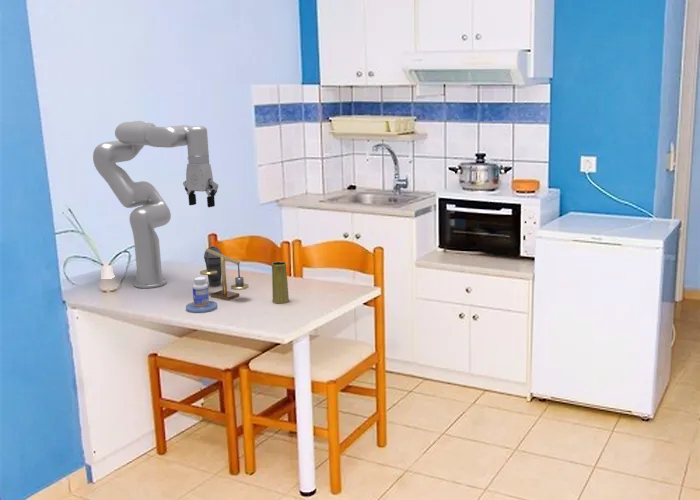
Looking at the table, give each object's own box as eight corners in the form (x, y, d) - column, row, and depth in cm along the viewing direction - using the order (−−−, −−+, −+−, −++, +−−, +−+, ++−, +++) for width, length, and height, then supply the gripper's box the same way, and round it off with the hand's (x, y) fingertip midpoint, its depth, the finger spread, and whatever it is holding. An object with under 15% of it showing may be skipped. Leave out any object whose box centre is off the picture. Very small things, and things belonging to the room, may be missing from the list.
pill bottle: (194, 302, 275) (193, 276, 273) (210, 302, 276) (208, 275, 273) (192, 307, 270) (190, 280, 268) (208, 306, 270) (206, 279, 268)
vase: (276, 304, 275) (274, 266, 272) (269, 300, 280) (267, 262, 277) (291, 302, 278) (290, 263, 275) (285, 298, 283) (283, 260, 280)
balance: (197, 294, 290) (194, 249, 286) (210, 290, 295) (207, 246, 292) (241, 303, 278) (238, 256, 274) (252, 298, 283) (250, 252, 279)
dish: (179, 310, 272) (179, 306, 271) (201, 302, 281) (201, 298, 280) (201, 314, 266) (201, 311, 265) (223, 306, 274) (223, 303, 274)
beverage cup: (220, 288, 299) (217, 237, 294) (202, 287, 300) (199, 237, 296) (227, 283, 306) (223, 233, 301) (209, 282, 307) (206, 233, 303)
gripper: (174, 160, 285) (178, 205, 289) (208, 162, 275) (211, 209, 279) (189, 158, 291) (192, 202, 295) (222, 160, 281) (225, 206, 285)
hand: (201, 205), depth 287 cm, fingers open, 9 cm apart
